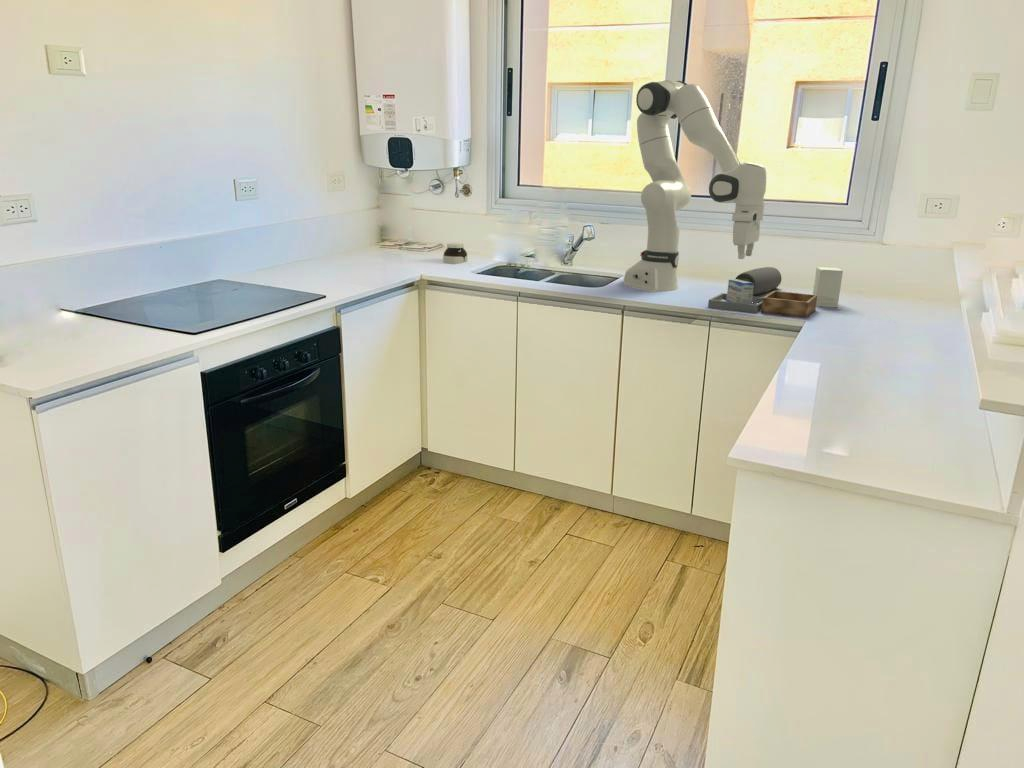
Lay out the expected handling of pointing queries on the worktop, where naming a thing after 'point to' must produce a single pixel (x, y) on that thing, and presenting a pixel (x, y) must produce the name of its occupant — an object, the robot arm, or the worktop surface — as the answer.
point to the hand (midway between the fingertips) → (744, 257)
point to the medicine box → (740, 291)
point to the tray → (735, 304)
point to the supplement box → (827, 286)
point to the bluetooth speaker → (762, 279)
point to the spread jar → (455, 254)
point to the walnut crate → (789, 304)
